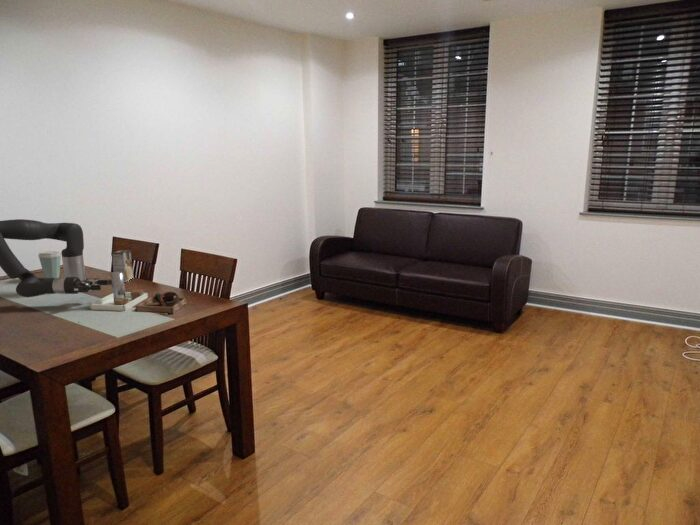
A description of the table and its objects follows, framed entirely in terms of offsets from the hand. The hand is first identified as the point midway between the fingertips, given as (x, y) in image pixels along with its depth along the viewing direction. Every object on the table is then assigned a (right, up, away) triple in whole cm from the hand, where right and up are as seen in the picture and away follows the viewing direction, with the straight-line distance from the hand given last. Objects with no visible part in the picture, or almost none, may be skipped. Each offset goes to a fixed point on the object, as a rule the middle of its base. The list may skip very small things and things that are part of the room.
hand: (104, 284), depth 227 cm
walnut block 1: (+10, -10, -5) cm, 15 cm away
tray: (+6, -9, +2) cm, 11 cm away
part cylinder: (+6, -8, +2) cm, 11 cm away
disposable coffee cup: (-50, +1, +46) cm, 68 cm away
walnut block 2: (+12, -7, +8) cm, 16 cm away
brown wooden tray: (+27, -10, -2) cm, 29 cm away
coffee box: (-10, 0, +43) cm, 44 cm away
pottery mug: (+29, -10, -1) cm, 30 cm away
